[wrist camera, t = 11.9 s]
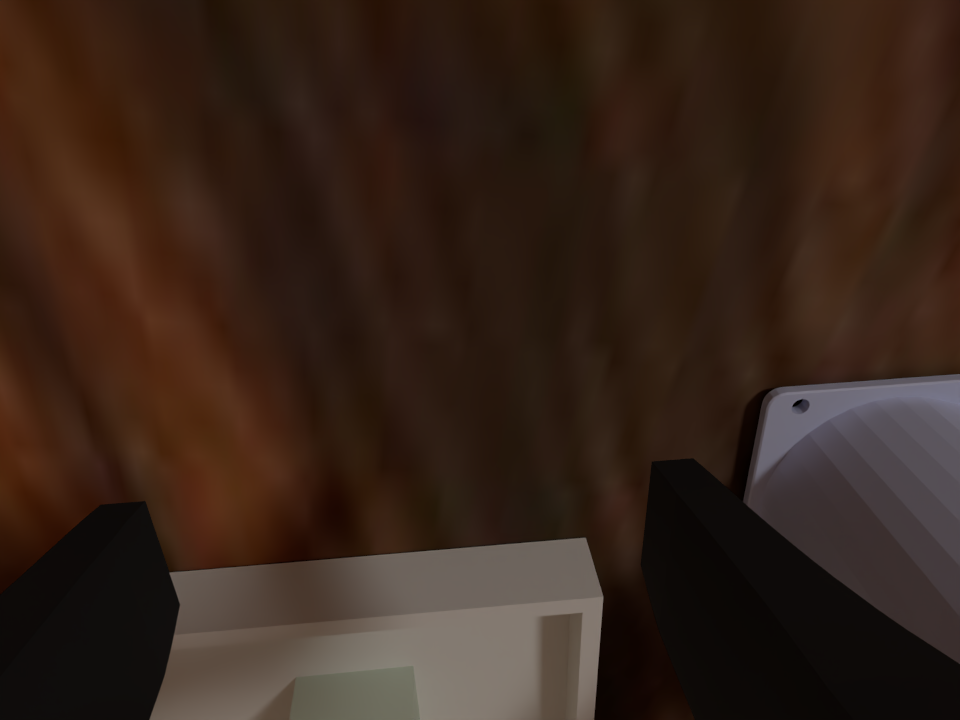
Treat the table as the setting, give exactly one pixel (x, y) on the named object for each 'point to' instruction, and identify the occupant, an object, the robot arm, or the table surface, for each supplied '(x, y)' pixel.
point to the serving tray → (393, 632)
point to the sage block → (357, 696)
